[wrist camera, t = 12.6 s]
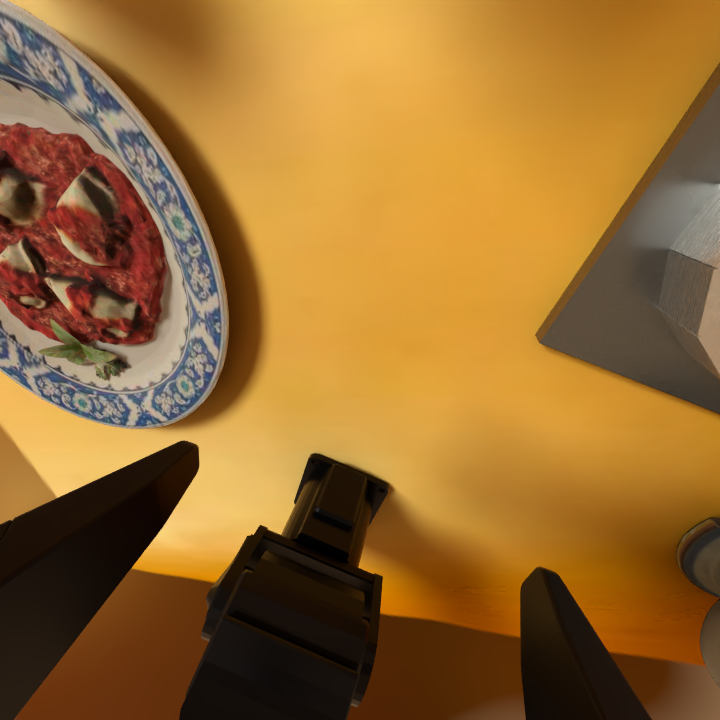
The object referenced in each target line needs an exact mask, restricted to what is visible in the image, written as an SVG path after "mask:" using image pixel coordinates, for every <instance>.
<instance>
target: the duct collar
mask: <svg viewBox="0 0 720 720" xmlns="http://www.w3.org/2000/svg"><path fill="white" fill-rule="evenodd" d="M535 335H536V337H537V339H538V341H539V343H540V344H543V345H546V346H548V347H551V348H553V349H556V350H558V351H561V352H563V353H566V354H569V355H571V356H574V357H576V358H579V359H581V360H584V361H586V362H589V363H591V364H594V365H597V366H599V367H602V368H604V369H607V370H609V371H612V372H614V373H617V374H620V375H622V376H625V377H627V378H630V379H632V380H635V381H637V382H640V383H642V384H645V385H648V386H650V387H653V388H655V389H658V390H660V391H663V392H665V393H668V394H671V395H673V396H676V397H678V398H681V399H683V400H686V401H688V402H691V403H693V404H696V405H699V406H701V407H704V408H706V409H709V410H711V411H714V412H716V413H719V414H720V64H719V65H718V66H717V68H716V69H715V71H714V72H713V74H712V75H711V77H710V78H709V80H708V81H707V83H706V84H705V86H704V87H703V89H702V90H701V92H700V93H699V94H698V96H697V97H696V99H695V100H694V102H693V103H692V105H691V106H690V108H689V109H688V111H687V112H686V114H685V115H684V117H683V118H682V119H681V121H680V122H679V124H678V125H677V127H676V128H675V130H674V131H673V133H672V134H671V136H670V137H669V139H668V140H667V142H666V143H665V145H664V146H663V147H662V149H661V150H660V152H659V153H658V155H657V156H656V158H655V159H654V161H653V162H652V164H651V165H650V167H649V168H648V170H647V171H646V173H645V174H644V175H643V177H642V178H641V180H640V181H639V183H638V184H637V186H636V187H635V189H634V190H633V192H632V193H631V195H630V196H629V198H628V199H627V200H626V202H625V203H624V205H623V206H622V208H621V209H620V211H619V212H618V214H617V215H616V217H615V218H614V220H613V221H612V223H611V224H610V226H609V227H608V228H607V230H606V231H605V233H604V234H603V236H602V237H601V239H600V240H599V242H598V243H597V245H596V246H595V248H594V249H593V251H592V252H591V254H590V255H589V256H588V258H587V259H586V261H585V262H584V264H583V265H582V267H581V268H580V270H579V271H578V273H577V274H576V276H575V277H574V279H573V280H572V281H571V283H570V284H569V286H568V287H567V289H566V290H565V292H564V293H563V295H562V296H561V298H560V299H559V301H558V302H557V304H556V305H555V307H554V308H553V309H552V311H551V312H550V314H549V315H548V317H547V318H546V320H545V321H544V323H543V324H542V326H541V327H540V329H539V330H538V332H537V333H536V334H535Z"/></svg>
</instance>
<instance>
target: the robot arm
mask: <svg viewBox="0 0 720 720" xmlns="http://www.w3.org/2000/svg"><path fill="white" fill-rule="evenodd" d="M198 469H199V448H198V446H197V445H196V444H194V443H191V442H188V441H180V442H177V443H175V444H173V445H171V446H169V447H167V448H164V449H162V450H160V451H158V452H156V453H154V454H151V455H149V456H147V457H145V458H143V459H141V460H139V461H136V462H134V463H132V464H130V465H128V466H126V467H123V468H121V469H119V470H117V471H115V472H113V473H110V474H108V475H106V476H104V477H102V478H100V479H97V480H95V481H93V482H91V483H89V484H87V485H85V486H82V487H80V488H78V489H76V490H74V491H72V492H69V493H67V494H65V495H63V496H61V497H59V498H56V499H55V500H52V501H50V502H48V503H46V504H43V505H41V506H39V507H37V508H35V509H33V510H31V511H29V512H26V513H24V514H22V515H20V516H18V517H15V518H14V519H13V521H12V520H9V521H6V522H4V523H2V524H0V720H14V719H15V717H16V716H17V715H18V713H19V712H20V711H21V709H22V708H23V707H24V706H25V704H26V703H27V702H28V700H29V699H30V698H31V696H32V695H33V694H34V692H35V691H36V690H37V689H38V688H39V686H40V685H41V684H42V682H43V681H44V680H45V679H46V677H47V676H48V675H49V673H50V672H51V671H52V670H53V668H54V667H55V666H56V664H57V663H58V662H59V661H60V659H61V658H62V657H63V655H64V654H65V653H66V651H67V650H68V649H69V648H70V646H71V645H72V644H73V642H74V641H75V640H76V638H77V637H78V636H79V635H80V633H81V632H82V631H83V629H84V628H85V627H86V626H87V624H88V623H89V622H90V621H91V619H92V618H93V617H94V615H95V614H96V613H97V611H98V610H99V609H100V608H101V606H102V605H103V604H104V602H105V601H106V600H107V598H108V597H109V596H110V595H111V593H112V592H113V591H114V590H115V588H116V587H117V586H118V584H119V583H120V582H121V581H122V579H123V578H124V577H125V575H126V574H127V573H128V571H129V570H130V569H131V568H132V566H133V565H134V564H135V563H136V561H137V560H138V559H139V557H140V556H141V555H142V553H143V552H144V551H145V550H146V548H147V547H148V546H149V544H150V543H151V542H152V541H153V539H154V538H155V537H156V535H157V534H158V533H159V531H160V530H161V529H162V527H163V526H164V524H165V523H166V521H167V520H168V518H169V517H170V515H171V514H172V512H173V510H174V509H175V507H176V506H177V504H178V502H179V501H180V499H181V498H182V496H183V495H184V493H185V491H186V490H187V488H188V487H189V485H190V483H191V482H192V480H193V479H194V477H195V475H196V474H197V472H198ZM382 488H383V489H382ZM388 489H389V486H388V484H387V483H385V482H383V481H380V480H378V479H376V478H373V477H371V476H369V475H366V474H364V473H361V472H359V471H357V470H354V469H352V468H350V467H347V466H345V465H342V464H340V463H338V462H335V461H333V460H330V459H328V458H326V457H323V456H321V455H319V454H315V453H313V454H311V455H310V457H309V459H308V462H307V465H306V468H305V471H304V474H303V477H302V480H301V482H300V485H299V488H298V491H297V494H296V497H295V500H294V503H295V507H294V509H293V511H292V513H291V515H290V517H289V519H288V521H287V524H286V526H285V528H284V530H283V532H282V534H281V535H280V534H277V533H275V532H272V531H270V530H268V528H267V527H265V526H262V525H260V526H259V527H258V529H257V531H256V532H255V534H254V535H252V534H251V535H250V536H247V538H246V539H245V541H244V543H243V545H242V547H241V548H240V550H239V552H238V554H237V555H236V557H235V558H234V560H233V561H232V563H231V564H230V565H229V566H228V568H227V569H226V570H225V571H224V573H223V574H222V575H221V576H220V578H219V579H218V580H217V581H216V583H215V584H214V585H213V586H212V588H211V589H210V591H209V593H208V595H207V598H206V601H207V606H208V612H207V616H206V620H205V624H204V627H203V630H202V634H201V638H203V639H205V640H207V641H209V643H208V645H207V648H206V650H205V652H204V654H203V657H202V659H201V661H200V663H199V665H198V668H197V670H196V672H195V674H194V676H193V679H192V681H191V683H190V685H189V687H188V690H187V693H186V698H185V701H184V703H183V705H182V708H181V711H180V718H179V720H347V717H348V713H349V710H350V706H351V705H353V706H355V707H356V706H358V705H359V704H360V703H361V701H362V698H363V696H364V694H365V691H366V688H367V685H368V683H369V679H370V676H371V672H372V668H373V663H374V658H375V655H376V648H377V641H378V630H379V617H380V605H381V592H382V579H383V576H381V575H378V574H376V573H374V574H372V573H369V572H367V571H365V570H362V569H360V568H358V566H359V562H360V558H361V554H362V550H363V546H364V542H365V538H366V534H367V529H368V527H369V525H370V523H371V521H372V520H373V518H374V516H375V514H376V513H377V511H378V509H379V507H380V506H381V504H382V502H383V500H384V499H385V497H386V495H387V493H388ZM520 642H521V644H520V646H521V648H520V649H521V673H522V683H523V694H524V704H525V714H526V720H652V719H651V717H650V716H649V714H648V713H647V711H646V710H645V708H644V707H643V705H642V703H641V702H640V700H639V699H638V697H637V696H636V694H635V693H634V691H633V689H632V688H631V686H630V685H629V683H628V682H627V680H626V679H625V677H624V676H623V674H622V672H621V671H620V669H619V668H618V666H617V665H616V663H615V662H614V660H613V658H612V657H611V655H610V654H609V652H608V651H607V649H606V648H605V646H604V644H603V643H602V641H601V640H600V638H599V637H598V635H597V634H596V632H595V631H594V629H593V627H592V626H591V624H590V623H589V621H588V620H587V618H586V617H585V615H584V613H583V612H582V610H581V609H580V607H579V606H578V604H577V603H576V601H575V599H574V598H573V596H572V595H571V593H570V592H569V590H568V589H567V587H566V586H565V584H564V582H563V581H562V579H561V578H560V576H559V575H558V574H557V573H556V572H554V571H552V570H549V569H546V568H543V567H537V568H535V569H534V571H533V572H532V573H531V574H530V575H529V576H528V577H527V578H526V579H525V581H524V582H523V584H522V586H521V592H520Z"/></svg>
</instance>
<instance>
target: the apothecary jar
mask: <svg viewBox="0 0 720 720" xmlns="http://www.w3.org/2000/svg"><path fill="white" fill-rule="evenodd" d="M676 560H677V564H678V566H679V568H680V570H681V571H682V573H683V574H684V575H685V576H686V578H687V579H688V580H689V581H690V582H692V583H693V584H694V585H696V586H697V587H699V588H701V589H702V590H704V591H706V592H708V593H709V594H711V595H713V596H716V597H718V598H720V518H709V519H707V520H705V521H703V522H701V523H700V524H698V525H696V526H695V527H694V528H692V529H691V530H690V531H689V532H687V533H686V534H685V535H684V536H683V538H682V540H681V541H680V543H679V545H678V547H677V553H676ZM700 647H701V653H702V657H703V660H704V662H705V665H706V667H707V669H708V671H709V672H710V674H711V676H712V677H713V679H714V680H715V682H716V683H717V685H718V686H719V687H720V599H719V600H718V601H717V602H716V603H715V604H714V605H713V606H712V607H711V608H710V610H709V612H708V613H707V615H706V617H705V619H704V622H703V625H702V629H701V634H700Z"/></svg>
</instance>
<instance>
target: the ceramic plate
mask: <svg viewBox="0 0 720 720" xmlns="http://www.w3.org/2000/svg"><path fill="white" fill-rule="evenodd" d="M228 338H229V312H228V300H227V293H226V287H225V282H224V276H223V272H222V268H221V265H220V261H219V257H218V253H217V250H216V247H215V245H214V242H213V239H212V236H211V233H210V230H209V227H208V225H207V223H206V220H205V218H204V216H203V214H202V211H201V209H200V207H199V204H198V202H197V200H196V198H195V196H194V194H193V192H192V190H191V188H190V187H189V185H188V183H187V181H186V179H185V177H184V175H183V173H182V172H181V170H180V168H179V167H178V165H177V164H176V162H175V160H174V159H173V157H172V155H171V154H170V152H169V150H168V149H167V147H166V146H165V144H164V143H163V142H162V140H161V139H160V137H159V136H158V134H157V133H156V132H155V130H154V129H153V127H152V126H151V125H150V123H149V122H148V121H147V119H146V118H145V117H144V116H143V114H142V113H141V112H140V111H139V109H138V108H137V107H136V106H135V105H134V103H133V102H132V101H131V100H130V98H129V97H128V96H127V95H126V94H125V93H124V92H123V91H122V89H121V88H120V87H119V86H118V85H117V84H116V83H115V82H114V81H113V80H112V79H111V78H110V77H109V76H108V75H107V73H106V72H105V71H104V70H102V69H101V68H100V67H99V66H98V65H97V64H96V63H95V62H94V61H92V60H91V59H90V58H89V57H88V56H87V55H86V54H85V53H84V52H82V51H81V50H80V49H79V48H78V47H77V46H76V45H75V44H74V43H72V42H71V41H70V40H69V39H68V38H67V37H65V36H64V35H62V34H61V33H59V32H58V31H56V30H55V29H53V28H52V27H50V26H49V25H47V24H46V23H44V22H43V21H41V20H40V19H39V18H37V17H36V16H34V15H33V14H31V13H30V12H28V11H26V10H24V9H23V8H21V7H19V6H17V5H15V4H13V3H11V2H9V1H7V0H0V371H2V372H3V373H4V374H6V375H7V376H8V377H10V378H11V379H12V380H14V381H15V382H16V383H18V384H19V385H21V386H22V387H24V388H25V389H27V390H29V391H30V392H32V393H33V394H35V395H37V396H38V397H40V398H41V399H43V400H45V401H47V402H49V403H51V404H53V405H55V406H57V407H59V408H61V409H62V410H65V411H67V412H69V413H71V414H74V415H76V416H78V417H81V418H84V419H87V420H90V421H94V422H97V423H101V424H104V425H109V426H114V427H120V428H127V429H147V428H156V427H161V426H166V425H169V424H172V423H175V422H177V421H179V420H181V419H183V418H185V417H187V416H188V415H189V414H191V413H192V412H194V411H195V410H196V409H197V408H198V407H199V406H200V405H201V404H202V403H203V402H204V401H205V400H206V398H207V397H208V396H209V395H210V393H211V392H212V390H213V389H214V387H215V386H216V383H217V381H218V378H219V376H220V374H221V371H222V369H223V366H224V362H225V358H226V353H227V346H228Z"/></svg>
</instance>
